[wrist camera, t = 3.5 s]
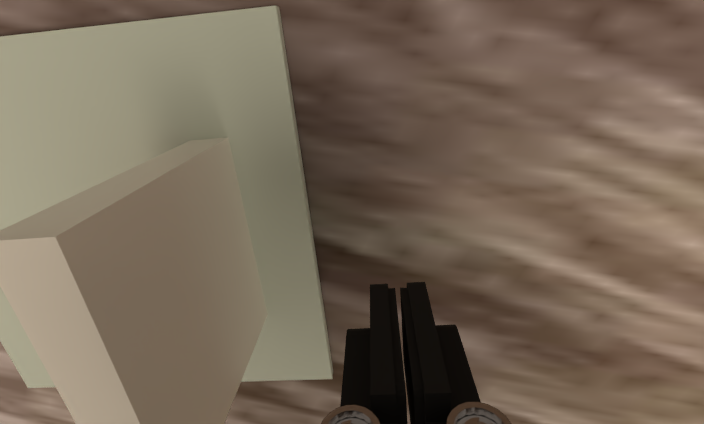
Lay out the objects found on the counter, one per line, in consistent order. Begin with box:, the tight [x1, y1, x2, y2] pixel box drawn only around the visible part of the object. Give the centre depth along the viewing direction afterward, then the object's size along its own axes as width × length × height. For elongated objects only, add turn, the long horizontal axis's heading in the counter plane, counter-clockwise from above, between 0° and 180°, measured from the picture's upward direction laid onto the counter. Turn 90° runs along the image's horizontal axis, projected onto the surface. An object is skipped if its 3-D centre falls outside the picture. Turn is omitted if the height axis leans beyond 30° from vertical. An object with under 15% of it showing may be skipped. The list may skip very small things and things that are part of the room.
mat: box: [0, 6, 333, 388], centre depth 20 cm, size 20×20×1 cm
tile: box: [0, 137, 268, 424], centre depth 14 cm, size 2×10×10 cm, turn 5°
